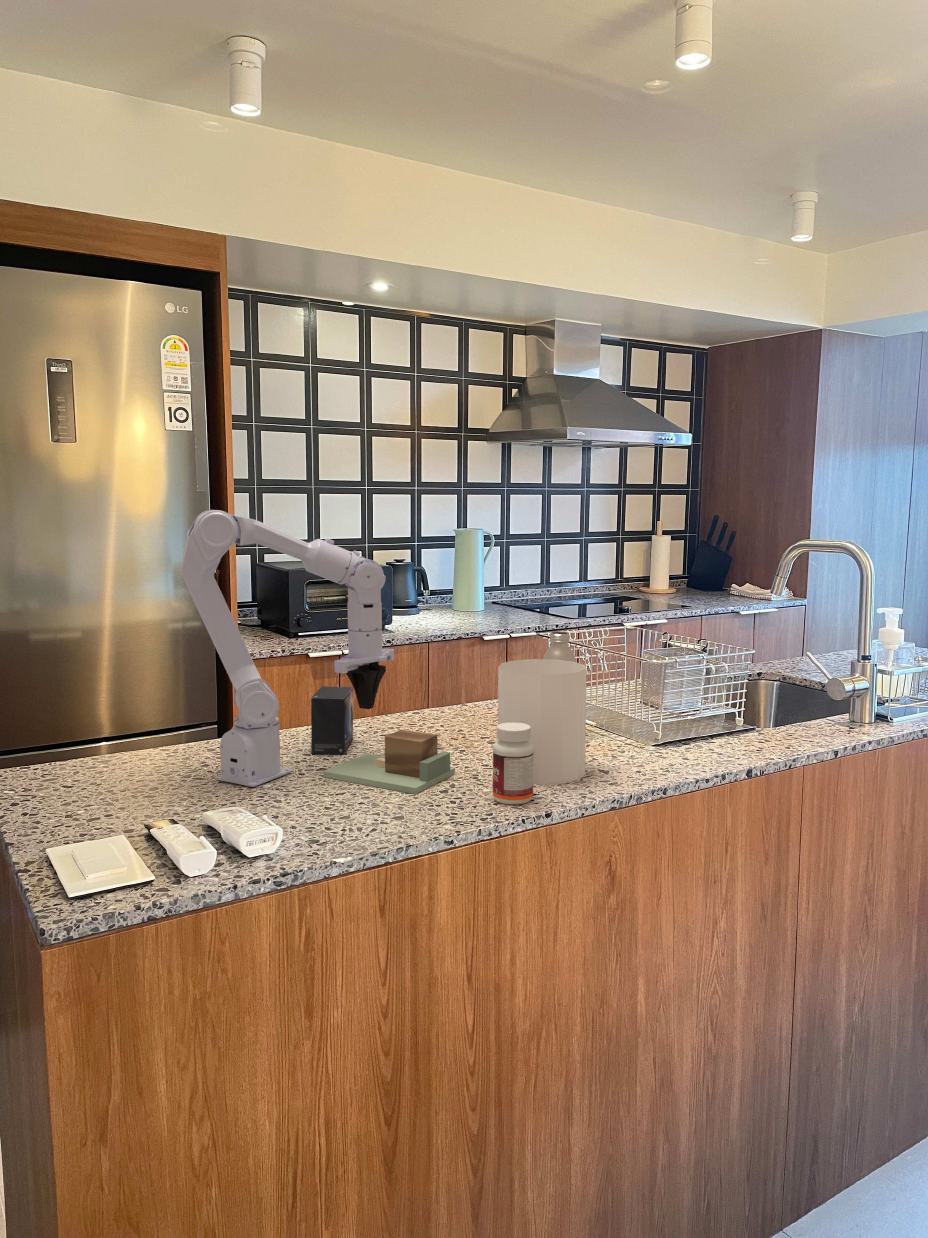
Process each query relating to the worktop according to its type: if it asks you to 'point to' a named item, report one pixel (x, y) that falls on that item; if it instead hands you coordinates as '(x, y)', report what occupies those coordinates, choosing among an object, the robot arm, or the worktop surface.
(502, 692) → the container
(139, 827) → the worktop surface
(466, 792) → the worktop surface
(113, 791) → the worktop surface
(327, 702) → the small box
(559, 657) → the plastic bottle
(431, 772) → the wall board
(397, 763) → the brown block
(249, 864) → the worktop surface
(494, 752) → the pill bottle
